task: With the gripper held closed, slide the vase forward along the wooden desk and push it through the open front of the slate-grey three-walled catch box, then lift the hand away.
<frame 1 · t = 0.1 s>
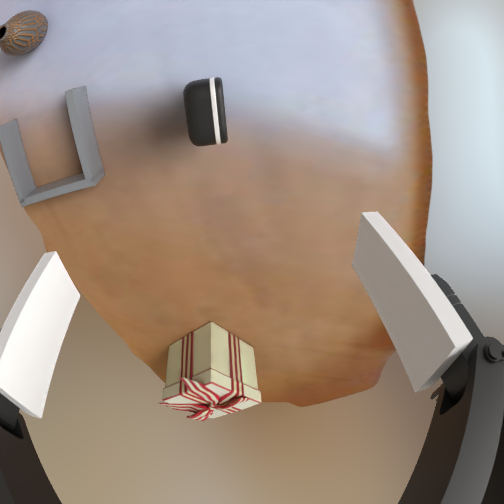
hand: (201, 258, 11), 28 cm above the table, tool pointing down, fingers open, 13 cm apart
vase: (37, 33, 19), on the table
catch box: (53, 143, 30), on the table
battery charger: (208, 103, 31), on the table
gift box: (204, 344, 61), on the table
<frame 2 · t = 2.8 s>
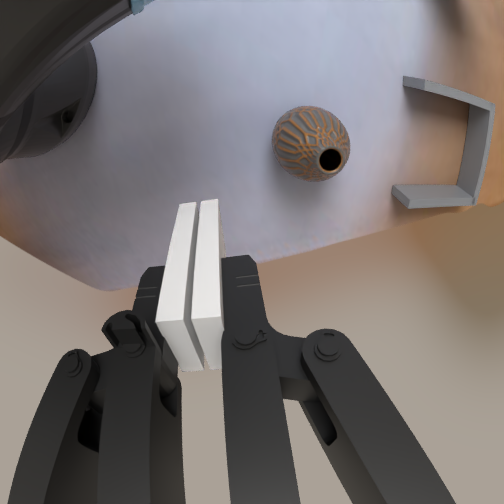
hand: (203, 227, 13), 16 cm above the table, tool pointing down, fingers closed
vase: (299, 133, 26), on the table
catch box: (437, 140, 27), on the table
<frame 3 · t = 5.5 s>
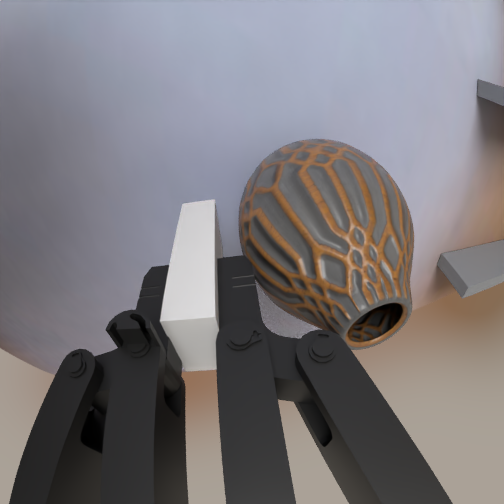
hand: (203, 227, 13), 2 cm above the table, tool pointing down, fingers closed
vase: (299, 187, 14), on the table, touching gripper
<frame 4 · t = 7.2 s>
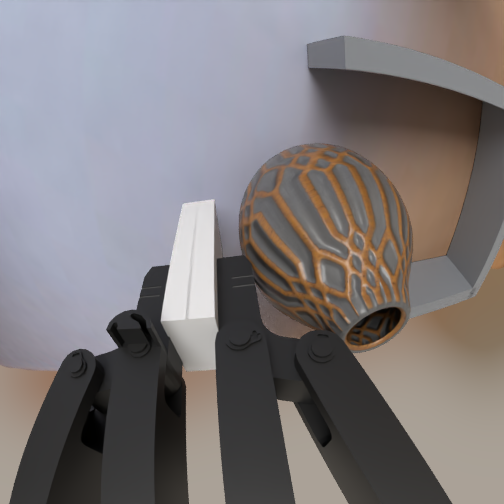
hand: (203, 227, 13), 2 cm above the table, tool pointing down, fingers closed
vase: (299, 191, 14), on the table, touching gripper
catch box: (410, 185, 14), on the table
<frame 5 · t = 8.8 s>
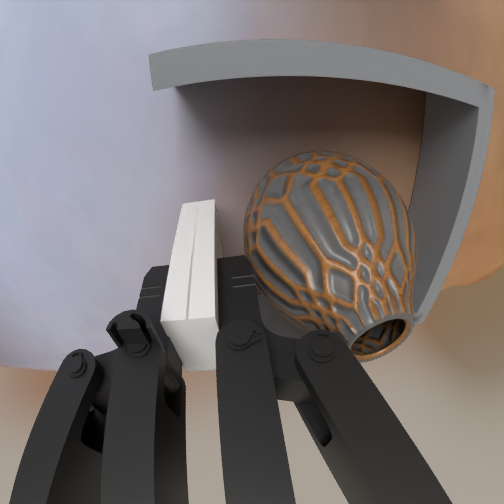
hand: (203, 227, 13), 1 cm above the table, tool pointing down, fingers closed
vase: (304, 198, 14), on the table, touching gripper
catch box: (322, 198, 14), on the table
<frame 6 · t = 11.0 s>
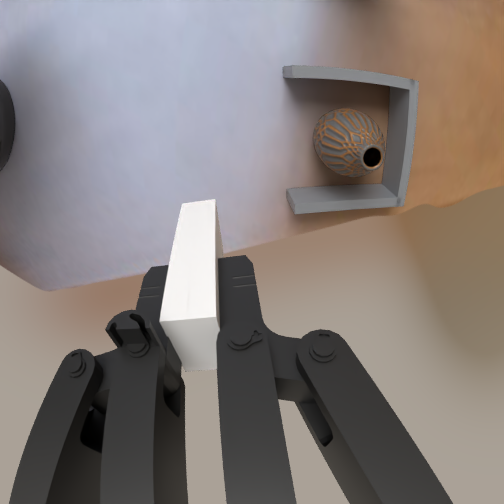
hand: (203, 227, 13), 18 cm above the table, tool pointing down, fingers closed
vase: (334, 133, 28), on the table
catch box: (342, 134, 27), on the table
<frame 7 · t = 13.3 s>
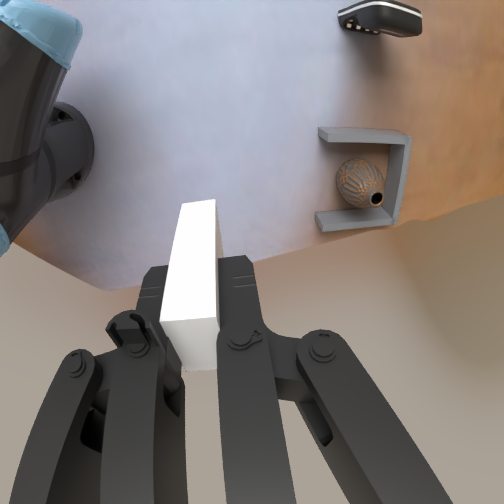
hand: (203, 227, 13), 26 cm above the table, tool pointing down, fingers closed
vase: (350, 173, 40), on the table
catch box: (355, 174, 40), on the table
battery charger: (358, 25, 26), on the table
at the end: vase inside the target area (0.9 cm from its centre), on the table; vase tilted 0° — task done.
